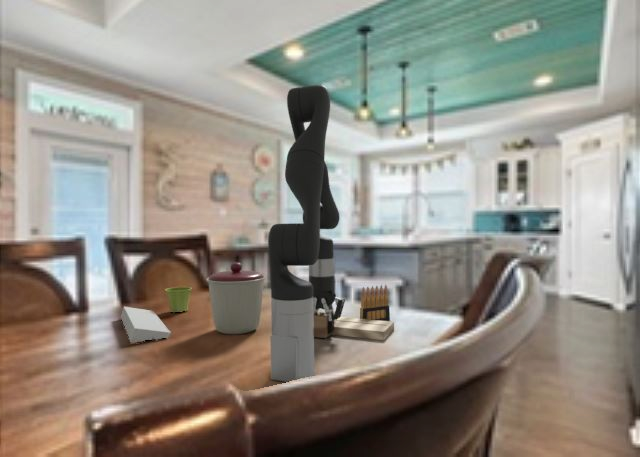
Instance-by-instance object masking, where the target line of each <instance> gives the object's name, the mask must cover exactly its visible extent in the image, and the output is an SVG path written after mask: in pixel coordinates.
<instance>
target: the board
mask: <svg viewBox="0 0 640 457" xmlns="http://www.w3.org/2000/svg"><path fill="white" fill-rule="evenodd" d="M394 330H395V321H391V320H390V321H380V320H369V319H360V318H359V317H358V318H355V317H345V316H341V317H340V318H338V319H337V320H334V331H333V334H331V335H330V336H339V337H340V336H343V337H352V338H359V339H361V338H362V339H367V340H368V339H370V340H379V341H385V340H386V339H387V338H388V337H389V336H390V335H391V333H392V332H394Z"/></svg>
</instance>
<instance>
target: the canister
mask: <svg viewBox="0 0 640 457" xmlns="http://www.w3.org/2000/svg"><path fill="white" fill-rule="evenodd" d="M242 268H243V266H242V264H241V263H240V262H233V263H231V264H230V270H227V271H219V272H215V273H212V274H211V275H210V276H209V277H207V278H206V279H205V281H206V282H207V283H208V290H209V297H210V298H209V300H210V304H211V305H210V307H211V312H212V318H213V324H214V327H215V329H216V331H218V332H219V333H222V334H225V335H239V334H240V335H241V334H242V335H243V334H246V333H250V332H253V331H254V330H257V328H258V326H259V325H260V321H261V320H260V319H261V314H262V313H261V311H262V305H263V304H262V303H263V293H264V292H263V291H264V282H265V281H264V280H266V278H267V277H266V275H265V274H262V273H261V272H259V271H255V270H245V269H244V270H242Z"/></svg>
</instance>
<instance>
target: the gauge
mask: <svg viewBox="0 0 640 457" xmlns="http://www.w3.org/2000/svg"><path fill="white" fill-rule="evenodd" d="M335 311H336V310H334V311H333V312H334V314H335ZM328 321H329V320H328V318H327V314H326V313H325V311H320V312H319V311H318V313H316V314H315V315H314V338H321V339H322V338H323V339H326V338H328V337H330V336H332V335H331V334H333V332H332V333H331V334H328Z"/></svg>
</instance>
